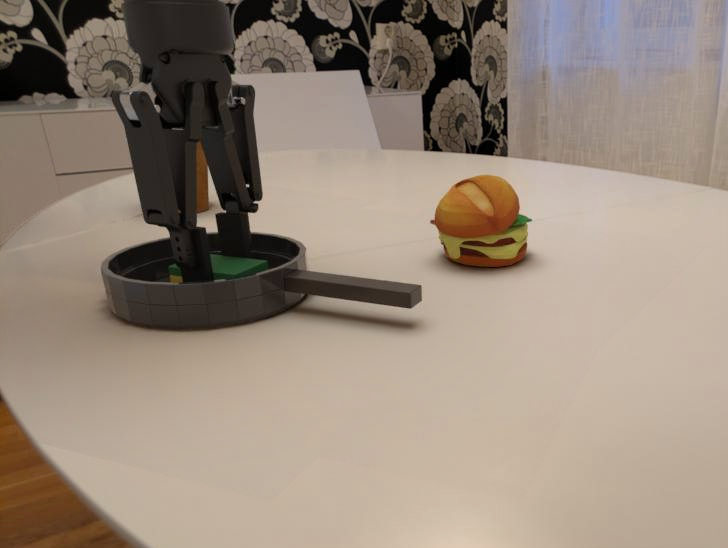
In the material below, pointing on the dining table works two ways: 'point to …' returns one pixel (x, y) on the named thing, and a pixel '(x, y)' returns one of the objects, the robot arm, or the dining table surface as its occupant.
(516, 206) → the cheeseburger
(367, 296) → the pan handle
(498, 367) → the dining table surface
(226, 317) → the pan
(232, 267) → the sponge
